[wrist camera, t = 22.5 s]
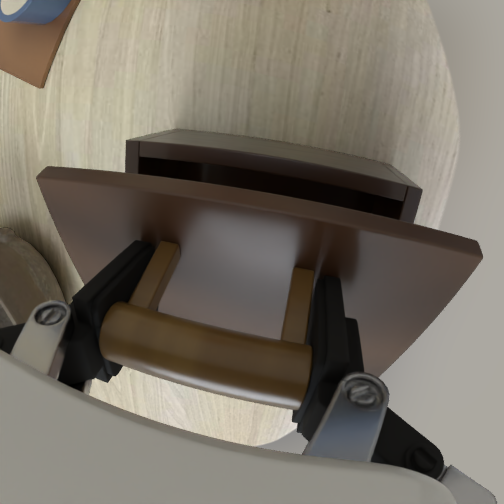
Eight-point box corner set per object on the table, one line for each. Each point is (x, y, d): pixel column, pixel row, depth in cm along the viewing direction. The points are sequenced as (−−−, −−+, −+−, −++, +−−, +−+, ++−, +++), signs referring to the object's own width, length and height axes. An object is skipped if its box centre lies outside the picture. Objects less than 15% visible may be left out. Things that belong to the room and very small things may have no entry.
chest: (174, 128, 22) (125, 139, 15) (391, 164, 20) (423, 189, 14) (170, 312, 29) (140, 361, 23) (335, 346, 28) (336, 405, 21)
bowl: (11, 184, 27) (-56, 218, 18) (111, 301, 30) (57, 364, 21) (-13, 267, 34) (-57, 302, 25) (64, 355, 37) (27, 402, 29)
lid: (46, 165, 10) (-39, 261, 6) (478, 239, 8) (516, 389, 5) (139, 360, 23) (116, 417, 19) (337, 404, 21) (328, 468, 18)
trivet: (30, -60, 13) (27, -61, 12) (118, -61, 14) (115, -63, 13) (-22, 56, 20) (-26, 57, 19) (43, 88, 21) (38, 88, 21)
